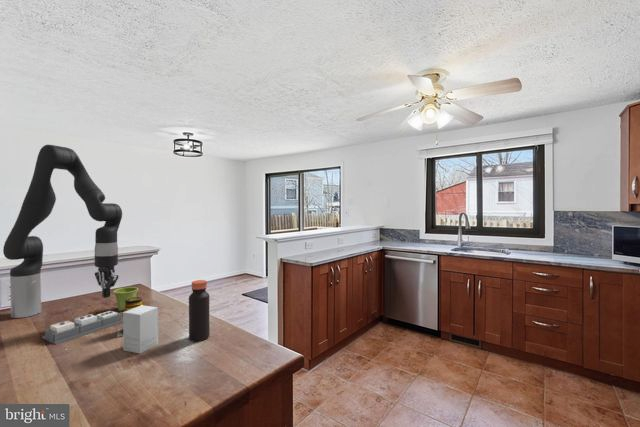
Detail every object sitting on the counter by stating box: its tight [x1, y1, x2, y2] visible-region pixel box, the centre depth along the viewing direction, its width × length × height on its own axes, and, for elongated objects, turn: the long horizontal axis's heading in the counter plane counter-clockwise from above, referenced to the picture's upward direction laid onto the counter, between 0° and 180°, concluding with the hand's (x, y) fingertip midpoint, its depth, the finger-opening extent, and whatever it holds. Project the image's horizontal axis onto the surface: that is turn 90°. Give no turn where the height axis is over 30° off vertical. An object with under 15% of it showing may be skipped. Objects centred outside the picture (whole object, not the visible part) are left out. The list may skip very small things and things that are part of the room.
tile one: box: [49, 320, 74, 333], centre depth 105 cm, size 5×5×3 cm
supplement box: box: [122, 304, 159, 354], centre depth 98 cm, size 7×7×13 cm
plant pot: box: [113, 286, 139, 312], centre depth 134 cm, size 9×9×9 cm
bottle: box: [188, 279, 210, 342], centre depth 105 cm, size 7×7×20 cm
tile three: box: [96, 310, 118, 319], centre depth 118 cm, size 5×5×3 cm
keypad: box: [41, 310, 123, 345], centre depth 111 cm, size 10×22×3 cm, turn 153°
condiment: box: [116, 296, 143, 338], centre depth 110 cm, size 7×8×12 cm
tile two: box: [74, 313, 97, 326], centre depth 111 cm, size 5×5×3 cm
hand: (106, 297), depth 118 cm, fingers closed
